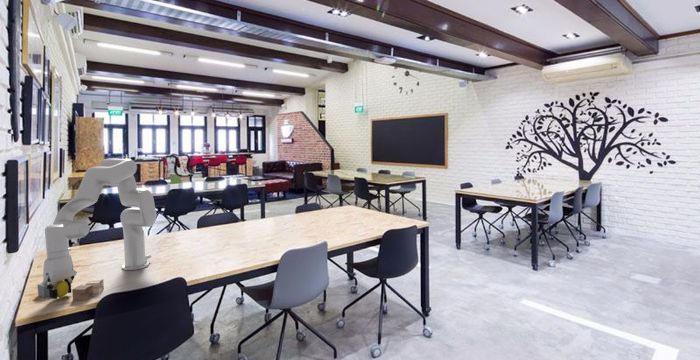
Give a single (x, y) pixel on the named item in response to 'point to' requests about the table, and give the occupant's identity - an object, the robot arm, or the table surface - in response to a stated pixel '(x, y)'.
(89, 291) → the walnut cube
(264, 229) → the table surface
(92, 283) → the maple cube
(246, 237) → the table surface
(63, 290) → the lemon
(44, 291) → the blue-grey cube
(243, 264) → the table surface
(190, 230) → the table surface
